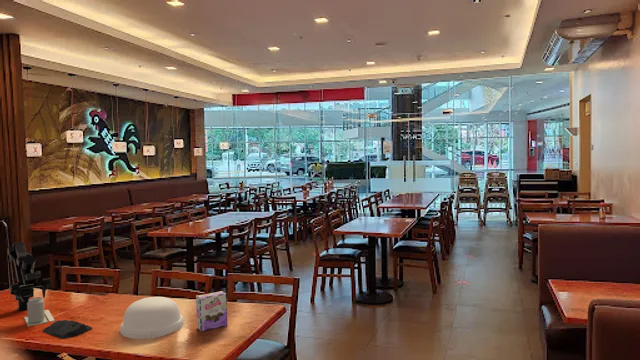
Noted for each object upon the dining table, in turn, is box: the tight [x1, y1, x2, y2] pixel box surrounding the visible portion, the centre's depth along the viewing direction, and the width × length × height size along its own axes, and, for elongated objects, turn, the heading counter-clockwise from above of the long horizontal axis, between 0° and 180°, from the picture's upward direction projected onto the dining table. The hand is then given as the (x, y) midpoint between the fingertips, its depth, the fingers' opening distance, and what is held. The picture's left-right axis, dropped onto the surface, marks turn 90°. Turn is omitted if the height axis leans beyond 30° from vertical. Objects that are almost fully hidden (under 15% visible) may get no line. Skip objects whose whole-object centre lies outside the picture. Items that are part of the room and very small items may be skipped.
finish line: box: [44, 309, 56, 323], centre depth 261 cm, size 22×2×1 cm, turn 37°
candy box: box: [195, 290, 228, 332], centre depth 238 cm, size 14×6×16 cm, turn 122°
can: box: [26, 296, 46, 323], centre depth 251 cm, size 8×8×12 cm
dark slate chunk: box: [41, 319, 93, 340], centre depth 239 cm, size 15×22×5 cm
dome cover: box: [119, 296, 185, 340], centre depth 240 cm, size 32×30×14 cm
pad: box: [24, 316, 49, 327], centre depth 255 cm, size 16×9×1 cm, turn 37°
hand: (34, 299), depth 253 cm, fingers open, 9 cm apart
